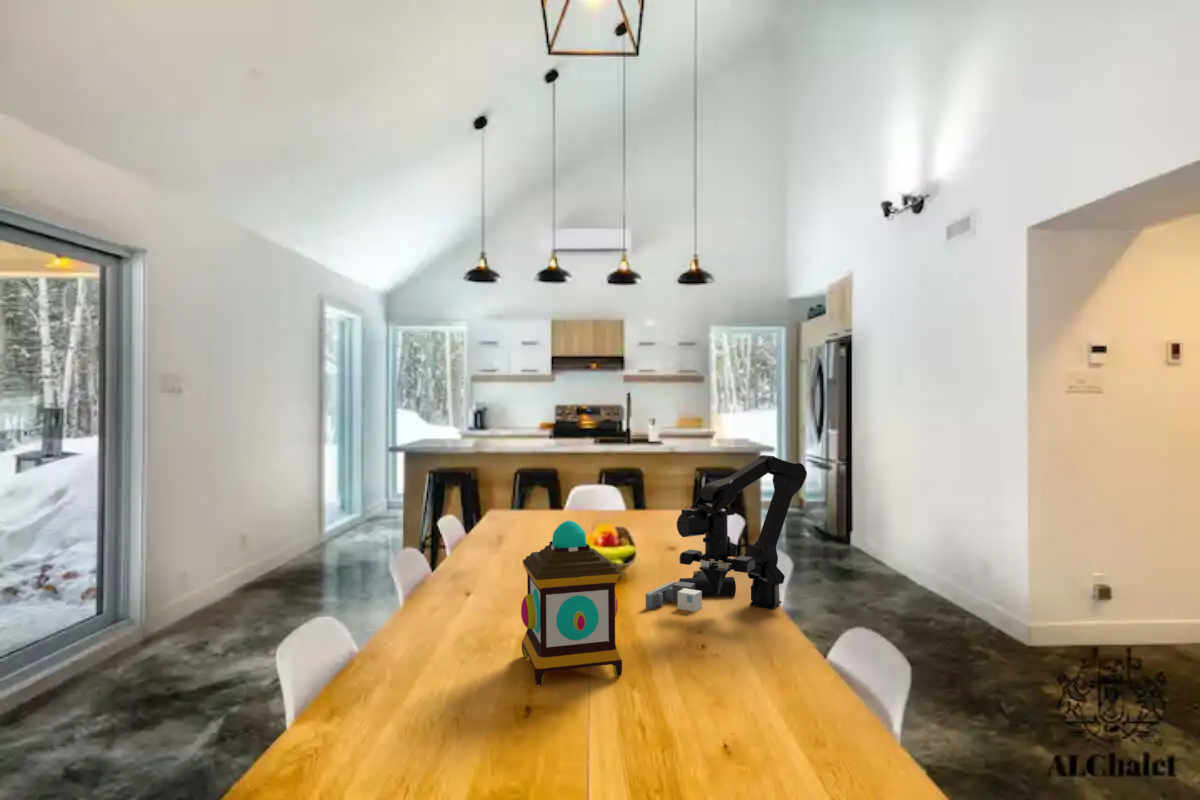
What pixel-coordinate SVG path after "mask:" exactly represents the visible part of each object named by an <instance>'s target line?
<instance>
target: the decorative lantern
mask: <svg viewBox="0 0 1200 800" xmlns="http://www.w3.org/2000/svg"><path fill="white" fill-rule="evenodd" d="M522 566H523V568H524V570H525V572H526V573H527V574H526V575H527V576H526V579H527V594H526V595H525V596H524V597H523V600H522V602H521V608H520V615H521V621H522V623H523V625H524V626H525V627H526V628H527V629H526V632H525V634H524V636H523V637H522V638H523V639H522V641H521V653H522V656H523V657H524V658H528V659H529V661H530V663H531V666H532V667H533V672H534V680H535V684H536V686H537V685H539V686H538V687H541V686H542V685H543V682H544V675H545V674H546V673H549V672H557V671H565V670H566V671H567V670H575V669H584V668H590V667H591V668H593V667H600V666H601V667H602V666H611V665H612V667H613V674H614V676H615V677H616V678H619V677H621V675H622V673H623V672H622V671H623V660H622V657H621V654H620V652H619V650H618V648H617V645H616V617H617V614H618V598H617V595H616V585H617V582H618V580H619V577H620V575H621V573H620V570H618V569H617V567H616V566H615V565H614V564H612V563H611V561H609V560H608V559H607V558H606V557H605V556H603V555H602V554H601V553H599V552H598V551H597V550H596V549H594V548H591V547H590V545H589V544H588V543H587V536H586V532H585V530H584V529H583V528H582V527H581V525H579V524H578V523H577V522H575V521H573V520H569V519H568V520H565V521H563V522H562V523H561V524H559V525H558V526H557V528H556V529H555V530H554V531H553V533H552V541H549V545H548V544H547V545H545V546H544V548H542V549H540V551H533V552H531V553H530V555H527V556H526V557H525V559H522ZM540 685H541V686H540Z"/></svg>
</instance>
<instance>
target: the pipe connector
mask: <svg viewBox="0 0 1200 800" xmlns="http://www.w3.org/2000/svg"><path fill="white" fill-rule="evenodd" d="M692 573H693V575H692V577H685V578H683V577H681V578H679V580H678V581H679V582H688V583H695V590H698V591H702V597H710V596H713V597H714V596H715V597H716V596H735V595H736V592H737V584H736V579H735V577H734V576H725V578H724V581H723V584H722V587H721V590H720V593H719V594H718V595H716V594H714V592H713V589H712V587H711V585H710V583H709V581H708V579H707V577H706V575H705V574H704V572H703V570H700V569H699V570H695V571H694V570H693V572H692Z"/></svg>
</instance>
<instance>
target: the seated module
mask: <svg viewBox="0 0 1200 800" xmlns="http://www.w3.org/2000/svg"><path fill="white" fill-rule="evenodd" d="M675 582H676V583H675V584H673V588H674V601H673V602H677V603H678V591H680V590H682V589H684V588H686V589H692V590H695V583H688V582H679V580H678V581H675Z"/></svg>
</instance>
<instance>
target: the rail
mask: <svg viewBox="0 0 1200 800" xmlns="http://www.w3.org/2000/svg"><path fill="white" fill-rule="evenodd" d="M676 582H677V581H668V582H666V583H664V584H662V585H661V586H659V587H657V588H655V589H652V590H650V591H648V592H646V593H645V610H646V609H647V610H651V611H652V610H656V609H657V608H663V607H664V605H665V604H666V603H668V602H671V603H672V602H675V601H674V588H673V584H675V583H676Z"/></svg>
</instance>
